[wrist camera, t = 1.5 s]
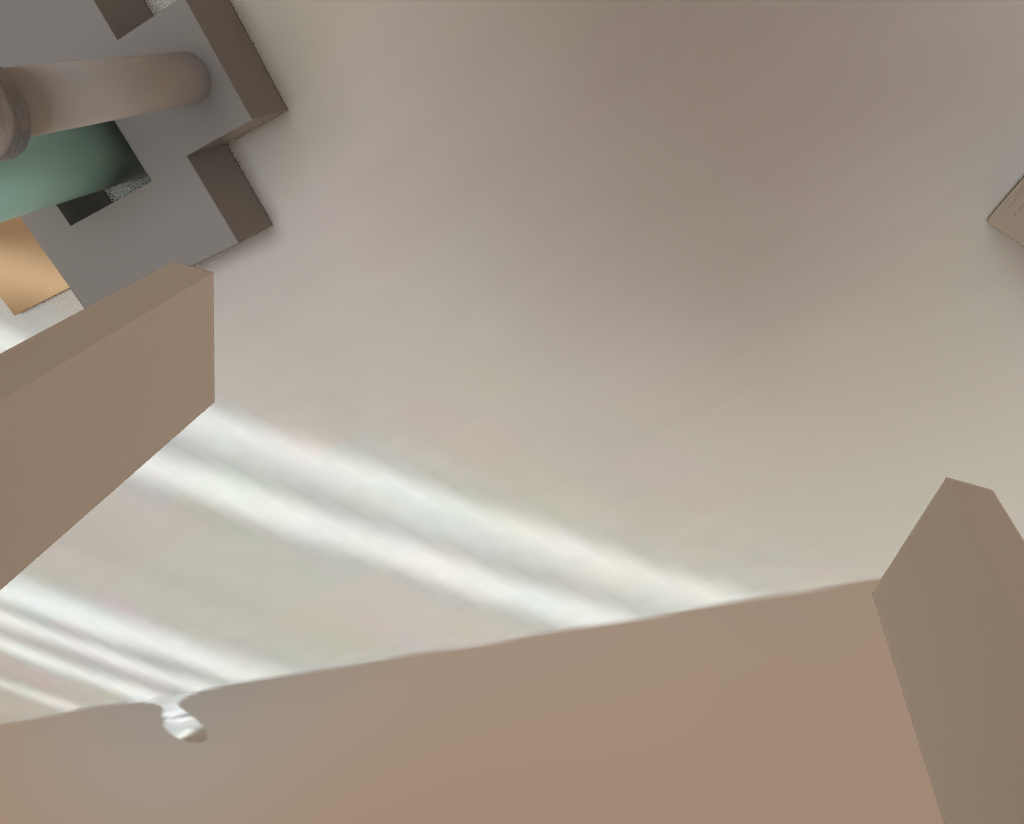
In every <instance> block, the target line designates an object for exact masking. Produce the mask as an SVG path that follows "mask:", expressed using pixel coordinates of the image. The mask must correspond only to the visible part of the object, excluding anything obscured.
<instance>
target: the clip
mask: <svg viewBox="0 0 1024 824" xmlns="http://www.w3.org/2000/svg"><path fill="white" fill-rule="evenodd" d="M30 136H31V118H30V112H29V109H28V105H27V103H26V100H25V98H24V96H23V94H22V92H21V90H20V88H19V87H18V85H17V84H16V82H15V81H14V80H13V78H12V77H11V76H10V75H9V74H8V73H7V72H6V71H5V70H4V69H3V68H2V67H1V66H0V162H3V161H7V160H11V159H14V158H16V157H18V156H19V155H21V154H22V153H23V151H24V150H25V149H26V147H27V146H28V143H29V140H30Z"/></svg>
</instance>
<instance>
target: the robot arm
mask: <svg viewBox="0 0 1024 824" xmlns="http://www.w3.org/2000/svg"><path fill="white" fill-rule="evenodd" d="M214 402H215V393H214V286H213V272H209V271H206V270H202V269H199V268H195V267H191V266H188V265H184V264H181V263H177V262H172V263H170V264H168V265H166V266H164V267H162V268H160V269H159V270H157V271H155V272H153V273H151V274H149V275H147V276H145V277H144V278H142V279H140V280H138V281H136V282H134V283H132V284H130V285H129V286H127V287H125V288H123V289H121V290H119V291H117V292H115V293H113V294H112V295H110V296H108V297H106V298H104V299H102V300H100V301H98V302H97V303H95V304H93V305H91V306H89V307H87V308H85V309H83V310H82V311H80V312H78V313H76V314H74V315H72V316H70V317H68V318H67V319H65V320H63V321H61V322H59V323H57V324H55V325H53V326H52V327H50V328H48V329H46V330H44V331H42V332H40V333H38V334H36V335H35V336H33V337H31V338H29V339H27V340H25V341H23V342H21V343H20V344H18V345H16V346H14V347H12V348H10V349H8V350H6V351H5V352H3V353H1V354H0V590H1V589H2V588H3V587H4V586H6V585H7V584H8V583H9V582H10V581H11V580H12V579H13V578H15V577H16V576H17V575H18V574H19V573H20V572H21V571H23V570H24V569H25V568H26V567H27V566H28V565H29V564H31V563H32V562H33V561H34V560H35V559H36V558H37V557H39V556H40V555H41V554H42V553H43V552H44V551H45V550H47V549H48V548H49V547H50V546H51V545H52V544H53V543H54V542H56V541H57V540H58V539H59V538H60V537H61V536H62V535H64V534H65V533H66V532H67V531H68V530H69V529H70V528H72V527H73V526H74V525H75V524H76V523H77V522H78V521H80V520H81V519H82V518H83V517H84V516H85V515H86V514H87V513H89V512H90V511H91V510H92V509H93V508H94V507H95V506H97V505H98V504H99V503H100V502H101V501H102V500H103V499H105V498H106V497H107V496H108V495H109V494H110V493H111V492H113V491H114V490H115V489H116V488H117V487H118V486H119V485H120V484H122V483H123V482H124V481H125V480H126V479H127V478H128V477H130V476H131V475H132V474H133V473H134V472H135V471H136V470H138V469H139V468H140V467H141V466H142V465H143V464H144V463H146V462H147V461H148V460H149V459H150V458H151V457H152V456H154V455H155V454H156V453H157V452H158V451H159V450H160V449H161V448H163V447H164V446H165V445H166V444H167V443H168V442H169V441H171V440H172V439H173V438H174V437H175V436H176V435H177V434H179V433H180V432H181V431H182V430H183V429H184V428H185V427H187V426H188V425H189V424H190V423H191V422H192V421H193V420H194V419H196V418H197V417H198V416H199V415H200V414H201V413H202V412H204V411H205V410H206V409H207V408H208V407H209V406H210V405H212V404H213V403H214ZM872 596H873V599H874V602H875V605H876V608H877V612H878V615H879V618H880V621H881V624H882V628H883V631H884V634H885V637H886V640H887V643H888V647H889V650H890V653H891V656H892V660H893V663H894V666H895V669H896V672H897V676H898V679H899V682H900V685H901V688H902V692H903V695H904V698H905V701H906V704H907V708H908V711H909V714H910V717H911V720H912V724H913V727H914V730H915V733H916V736H917V740H918V742H919V746H920V749H921V752H922V756H923V759H924V762H925V765H926V769H927V772H928V775H929V778H930V781H931V785H932V788H933V791H934V794H935V797H936V800H937V804H938V807H939V810H940V813H941V816H942V820H943V823H944V824H1024V540H1023V539H1022V537H1021V535H1020V534H1019V532H1018V531H1017V529H1016V527H1015V526H1014V524H1013V523H1012V521H1011V519H1010V518H1009V516H1008V514H1007V513H1006V511H1005V510H1004V508H1003V506H1002V505H1001V503H1000V502H999V500H998V498H997V497H996V495H995V493H994V492H993V490H990V489H987V488H983V487H979V486H976V485H972V484H969V483H965V482H961V481H958V480H954V479H951V478H947V477H946V479H945V480H944V482H943V484H942V485H941V487H940V488H939V490H938V491H937V493H936V494H935V496H934V498H933V499H932V501H931V502H930V504H929V505H928V507H927V508H926V510H925V512H924V513H923V515H922V516H921V518H920V519H919V521H918V522H917V524H916V526H915V527H914V529H913V530H912V532H911V533H910V535H909V536H908V538H907V540H906V541H905V543H904V544H903V546H902V547H901V549H900V550H899V552H898V554H897V555H896V557H895V558H894V560H893V561H892V563H891V564H890V566H889V568H888V569H887V571H886V572H885V574H884V575H883V577H882V578H881V580H880V582H879V583H878V585H877V586H876V588H875V589H874V591H873V593H872Z"/></svg>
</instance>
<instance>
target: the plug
mask: <svg viewBox="0 0 1024 824" xmlns="http://www.w3.org/2000/svg"><path fill="white" fill-rule="evenodd" d="M146 175H147V172H146V171H145V169H144V167H143V166H142V164H141V163H140V161H139V159H138V158H137V156H136V155H135V153H134V151H133V150H132V148H131V147H130V145H129V143H128V142H127V140H126V139H125V137H124V135H123V134H122V132H121V131H120V129H119V127H118V126H117V124H116V123H115V121H114V120H113V121H108V122H103V123H98V124H93V125H88V126H83V127H78V128H73V129H68V130H63V131H58V132H53V133H48V134H43V135H38V136H33V137H30V140H29V143H28V146H27V147H26V149H25V150H24V151H23V153H22V154H21V155H19V156H18V157H16V158H14V159H11V160H7V161H3V162H0V222H3V221H7V220H10V219H13V218H16V217H19V216H22V215H25V214H29V213H32V212H35V211H38V210H41V209H44V208H47V207H51V206H54V205H57V204H60V203H63V202H66V201H69V200H72V199H76V198H79V197H82V196H85V195H88V194H91V193H94V192H98V191H101V190H104V189H107V188H110V187H113V186H116V185H120V184H123V183H126V182H129V181H132V180H135V179H138V178H142V177H144V176H146Z"/></svg>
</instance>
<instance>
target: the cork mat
mask: <svg viewBox="0 0 1024 824" xmlns="http://www.w3.org/2000/svg"><path fill="white" fill-rule="evenodd" d="M68 288H70V287H69V286H68V284H67V283H66V282H65V280H64V279H63V277H62V276H61V274H60V273H59V272H58V270H57V269H56V267H55V266H54V264H53V263H52V262H51V260H50V259H49V257H48V256H47V255H46V253H45V252H44V250H43V249H42V247H41V246H40V245H39V243H38V242H37V240H36V239H35V238H34V236H33V235H32V233H31V232H30V230H29V229H28V228H27V226H26V225H25V223H24V222H23V220H22V219H21V218H20V216H19V217H16V218H13V219H10V220H7V221H3V222H0V296H1V298H2V299H3V301H4V302H5V303H6V305H7V306H8V307H9V309H10V310H11V311H12V313H13V314H14V315H17V314H19V313H21V312H23V311H25V310H27V309H29V308H31V307H33V306H35V305H37V304H39V303H41V302H42V301H44V300H46V299H48V298H50V297H52V296H54V295H56V294H58V293H60V292H62V291H64V290H66V289H68Z"/></svg>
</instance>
